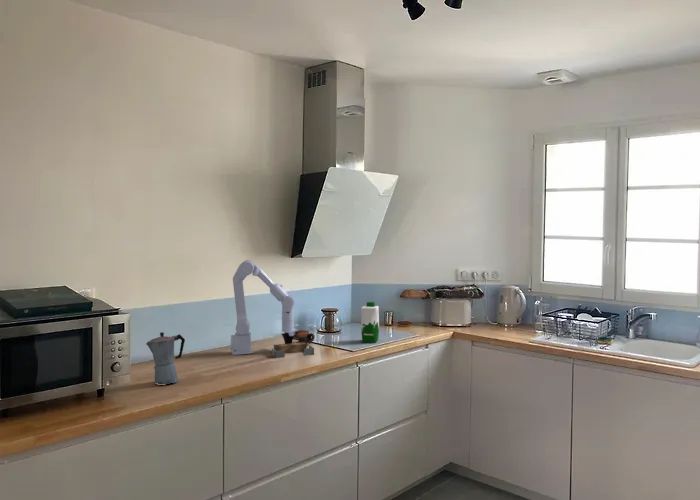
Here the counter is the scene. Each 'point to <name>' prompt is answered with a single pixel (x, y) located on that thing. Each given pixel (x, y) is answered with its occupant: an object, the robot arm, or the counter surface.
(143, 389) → the counter surface
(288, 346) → the slat
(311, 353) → the cap
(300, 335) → the pottery mug
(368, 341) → the milk carton
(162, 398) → the counter surface
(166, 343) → the moka pot
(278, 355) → the cap
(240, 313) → the robot arm
